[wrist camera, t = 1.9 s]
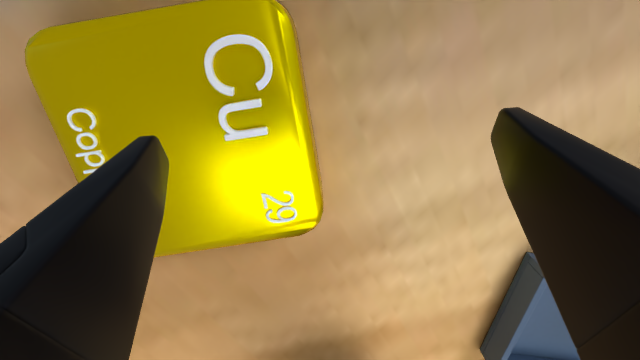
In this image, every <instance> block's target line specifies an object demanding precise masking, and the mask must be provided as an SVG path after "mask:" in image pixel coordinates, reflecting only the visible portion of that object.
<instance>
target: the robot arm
mask: <svg viewBox="0 0 640 360" xmlns="http://www.w3.org/2000/svg"><path fill="white" fill-rule="evenodd" d="M491 143H492V146H493V150H494V153H495V156H496V160H497V163H498V166H499V170H500V173H501V176H502V180H503V183H504V186H505V189H506V191H507V194H508V196H509V199H510V201H511V203H512V205H513V208H514V210H515V212H516V214H517V217H518V219H519V221H520V223H521V226H522V228H523V230H524V233H525V235H526V237H527V239H528V242H529V244H530V246H531V248H532V251H533V253H534V255H535V257H536V260H537V262H538V264H539V267H540V269H541V271H542V273H543V276H544V278H545V280H546V282H547V285H548V287H549V289H550V291H551V294H552V296H553V298H554V300H555V303H556V305H557V307H558V310H559V312H560V314H561V316H562V319H563V321H564V323H565V325H566V328H567V330H568V332H569V334H570V337H571V339H572V341H573V344H574V346H575V348H576V349H577V350H576V351H577V353H578V355H579V358H580V360H640V169H639V168H637V167H635V166H633V165H631V164H629V163H627V162H625V161H623V160H621V159H619V158H617V157H615V156H613V155H611V154H609V153H607V152H605V151H603V150H601V149H599V148H597V147H595V146H593V145H592V144H590V143H588V142H586V141H584V140H582V139H580V138H578V137H576V136H574V135H572V134H570V133H568V132H566V131H564V130H562V129H560V128H558V127H556V126H554V125H552V124H550V123H548V122H546V121H544V120H542V119H541V118H539V117H537V116H535V115H533V114H531V113H529V112H527V111H525V110H523V109H521V108H518V107H514V108H504V109H502V110H501V111H500V112H499V114H498V117H497V119H496V122H495V125H494V127H493V130H492V133H491ZM168 175H169V159H168V157H167V155H166V153H165V151H164V149H163V146H162V144H161V142H160V140H159V139H158V138H157V137H156V136H154V135H150V136H140V137H138V138H137V139H135V140H134V141H133V142H131V143H130V144H129V145H128V146H126V147H125V148H124V149H122V150H121V151H120V152H118V153H117V154H116V155H115V156H113V157H112V158H111V159H109V160H108V161H107V162H106V163H104V164H103V165H102V166H100V167H99V168H98V169H96V170H95V171H94V172H93V173H91V174H90V175H89V176H87V177H86V178H85V179H84V180H82V181H81V182H80V183H78V184H77V185H76V186H74V187H73V188H72V189H71V190H69V191H68V192H67V193H65V194H64V195H63V196H62V197H60V198H59V199H58V200H56V201H55V202H54V203H52V204H51V205H50V206H49V207H47V208H46V209H45V210H43V211H42V212H41V213H40V214H38V215H37V216H36V217H34V218H33V219H32V220H30V221H29V222H28V223H27V224H26V226H23V227H21V228H20V229H19V230H17V231H16V232H15V233H14V234H12V235H11V236H10V237H8V238H7V239H6V240H4V241H3V242H2V243H0V360H129V356H130V352H131V348H132V344H133V340H134V336H135V332H136V328H137V323H138V319H139V315H140V311H141V307H142V303H143V299H144V295H145V291H146V287H147V283H148V278H149V274H150V270H151V266H152V262H153V258H154V254H155V250H156V246H157V242H158V238H159V233H160V229H161V225H162V221H163V216H164V210H165V202H166V193H167V184H168Z"/></svg>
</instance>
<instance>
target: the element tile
mask: <svg viewBox="0 0 640 360" xmlns="http://www.w3.org/2000/svg"><path fill="white" fill-rule="evenodd" d="M25 63H26V67H27V70H28V73H29V76H30V79H31V81H32V83H33V85H34V87H35V90H36V92H37V94H38V96H39V98H40V100H41V103H42V105H43V107H44V109H45V111H46V113H47V116H48V118H49V120H50V122H51V124H52V127H53V129H54V131H55V133H56V135H57V137H58V140H59V142H60V144H61V146H62V148H63V151H64V153H65V155H66V157H67V159H68V161H69V164H70V166H71V168H72V170H73V172H74V175H75V177H76V179H77V181H78V183H80V182H81V181H82V180H84V179H85V178H86V177H87V176H89V175H90V174H91V173H93V172H94V171H95V170H96V169H98V168H99V167H100V166H102V165H103V164H104V163H106V162H107V161H108V160H109V159H111V158H112V157H113V156H115V155H116V154H117V153H118V152H120V151H121V150H122V149H124V148H125V147H126V146H128V145H129V144H130V143H131V142H133V141H134V140H135V139H137V138H138V137H140V136H150V135H154V136H156V137H157V138H158V139H159V140H160V142H161V144H162V146H163V149H164V151H165V153H166V155H167V157H168V159H169V175H168V184H167V193H166V202H165V210H164V216H163V221H162V225H161V229H160V233H159V238H158V242H157V246H156V250H155V254H154V257H160V256H166V255H173V254H180V253H186V252H193V251H200V250H207V249H213V248H220V247H227V246H234V245H240V244H247V243H254V242H260V241H267V240H274V239H281V238H287V237H294V236H300V235H302V234H305V233H307V232H309V231H310V230H312V229H314V228H315V227H316V225H317V224H318V223H319V222H320V220H321V216H322V213H323V193H322V181H321V175H320V169H319V163H318V158H317V152H316V146H315V140H314V134H313V128H312V122H311V116H310V110H309V104H308V98H307V92H306V86H305V80H304V74H303V68H302V62H301V56H300V50H299V44H298V38H297V32H296V28H295V25H294V22H293V19H292V18H291V16H290V14H289V13H288V11H287V9H286V8H285V7H283V6H282V5H281V4H280V3H278V2H277V1H276V0H201V1H195V2H190V3H184V4H178V5H172V6H167V7H161V8H155V9H149V10H143V11H138V12H132V13H126V14H120V15H115V16H109V17H103V18H97V19H92V20H86V21H80V22H74V23H69V24H63V25H57V26H51V27H48V28H45V29H43V30H40V31H39V32H37V33H36V34H35V35H34V36H32V37H31V38H30V39H29V41H28V43H27V46H26V48H25Z"/></svg>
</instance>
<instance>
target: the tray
mask: <svg viewBox="0 0 640 360" xmlns="http://www.w3.org/2000/svg"><path fill="white" fill-rule="evenodd" d="M576 350H577V349H576V348H575V346H574V344H573V341H572V339H571V337H570V334H569V332H568V330H567V328H566V325H565V323H564V321H563V319H562V316H561V314H560V312H559V310H558V307H557V305H556V303H555V300H554V298H553V296H552V294H551V291H550V289H549V287H548V285H547V282H546V280H545V278H544V276H543V273H542V271H541V269H540V267H539V264H538V262H537V260H536V257H535V255H534V253H530V252H526V254H525V256H524V259H523V261H522V263H521V265H520V267H519V269H518V271H517V273H516V275H515V277H514V279H513V281H512V283H511V286H510V288H509V290H508V292H507V294H506V296H505V298H504V300H503V302H502V304H501V306H500V308H499V311H498V313H497V315H496V317H495V319H494V321H493V323H492V325H491V327H490V329H489V331H488V333H487V335H486V338H485V340H484V342H483V344H482V346H481V348H480V351H481V353H482V355H483V357H484V359H485V360H580V358H579V355H578V353H577V351H576Z"/></svg>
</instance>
